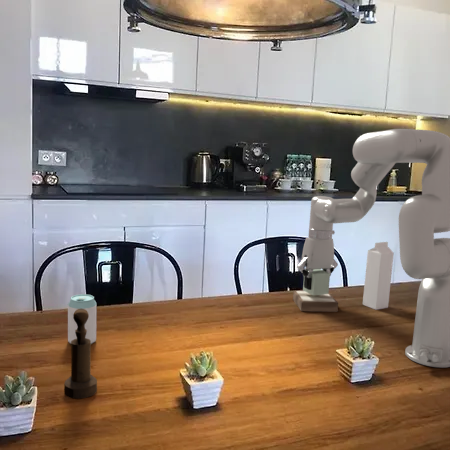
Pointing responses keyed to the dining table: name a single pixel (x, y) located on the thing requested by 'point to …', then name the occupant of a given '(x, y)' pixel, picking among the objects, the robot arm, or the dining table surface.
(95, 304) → the can
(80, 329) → the dark brown tall piece
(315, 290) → the block
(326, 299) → the plinth
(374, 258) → the milk
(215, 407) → the dining table surface
